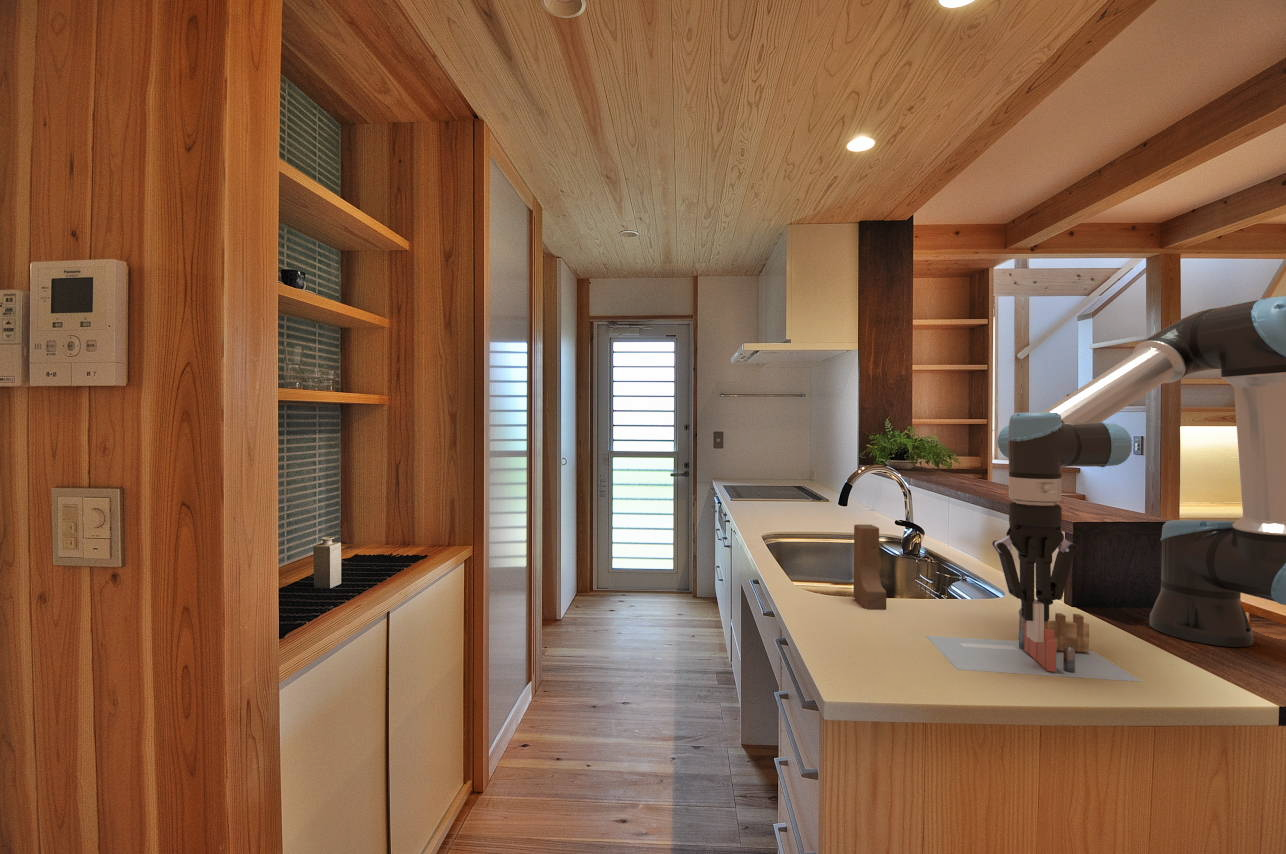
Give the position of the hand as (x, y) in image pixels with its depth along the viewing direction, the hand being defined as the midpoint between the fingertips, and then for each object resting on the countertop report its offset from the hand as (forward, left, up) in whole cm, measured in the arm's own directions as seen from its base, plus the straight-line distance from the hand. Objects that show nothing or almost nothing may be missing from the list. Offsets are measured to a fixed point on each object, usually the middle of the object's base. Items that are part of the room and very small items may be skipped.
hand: (1035, 639), depth 100 cm
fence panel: (-2, -2, -4) cm, 5 cm away
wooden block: (+20, -32, -5) cm, 38 cm away
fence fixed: (-8, -8, -5) cm, 12 cm away
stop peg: (-5, +1, -5) cm, 7 cm away
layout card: (0, -4, -5) cm, 7 cm away
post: (-2, -8, -5) cm, 10 cm away
